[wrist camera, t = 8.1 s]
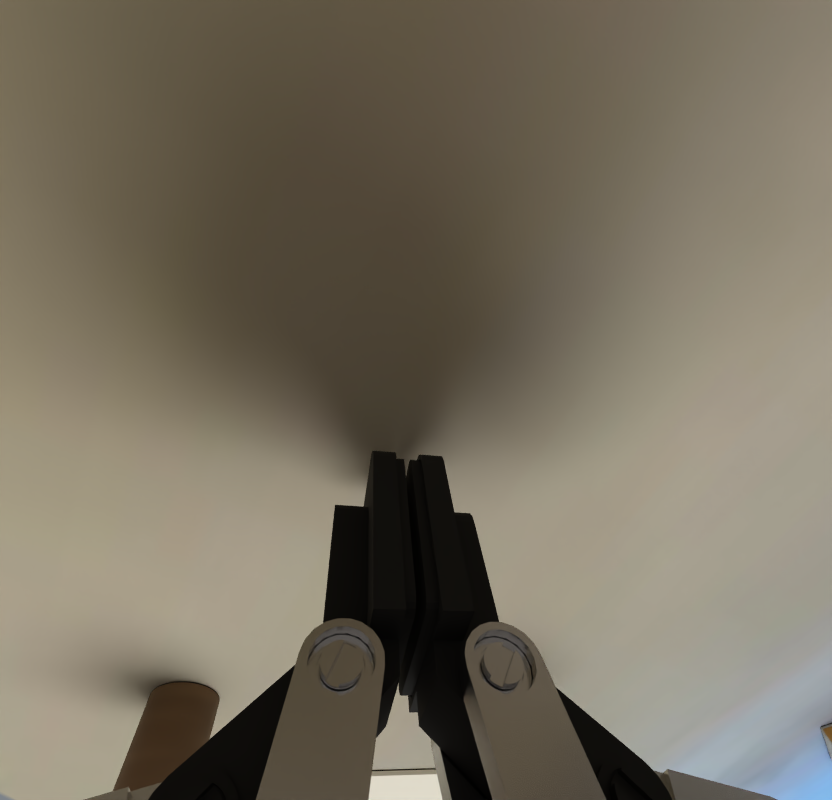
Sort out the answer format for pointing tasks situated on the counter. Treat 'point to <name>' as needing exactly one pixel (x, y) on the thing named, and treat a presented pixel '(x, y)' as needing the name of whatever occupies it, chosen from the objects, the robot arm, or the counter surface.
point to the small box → (828, 737)
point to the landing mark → (405, 785)
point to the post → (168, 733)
